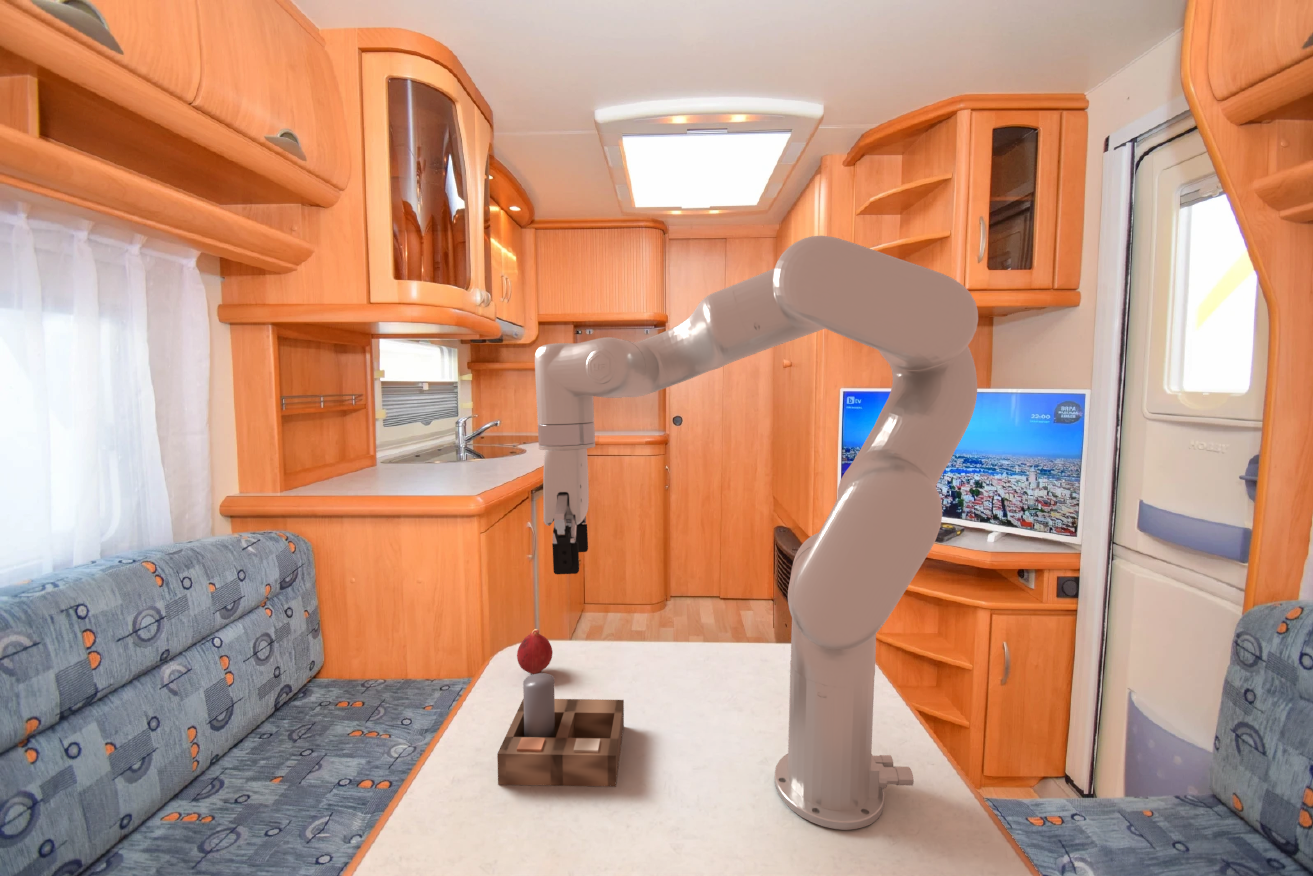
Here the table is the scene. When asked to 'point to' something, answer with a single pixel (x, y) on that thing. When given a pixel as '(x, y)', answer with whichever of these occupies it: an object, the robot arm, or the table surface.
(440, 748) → the table surface
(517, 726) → the socket block
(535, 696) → the plug
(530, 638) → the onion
